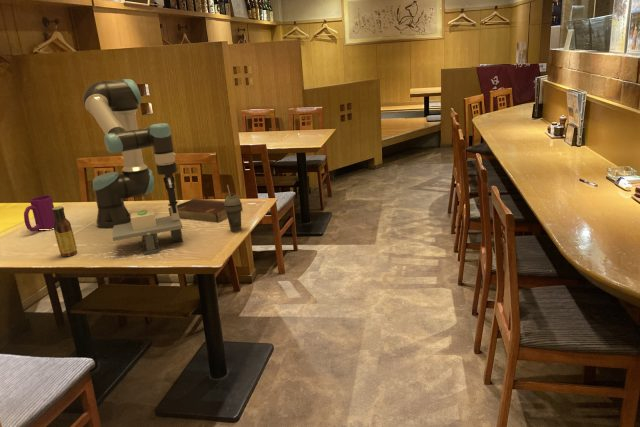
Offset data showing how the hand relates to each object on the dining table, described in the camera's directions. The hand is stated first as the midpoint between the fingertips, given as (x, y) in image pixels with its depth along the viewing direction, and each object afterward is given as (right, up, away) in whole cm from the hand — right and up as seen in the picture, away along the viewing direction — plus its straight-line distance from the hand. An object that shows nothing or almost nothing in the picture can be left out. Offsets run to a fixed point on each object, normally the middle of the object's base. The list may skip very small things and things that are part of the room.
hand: (175, 219), depth 209 cm
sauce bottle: (-41, -14, -4) cm, 44 cm away
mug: (-71, -6, +30) cm, 77 cm away
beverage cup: (+23, -5, +9) cm, 25 cm away
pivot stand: (-6, -9, +1) cm, 11 cm away
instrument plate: (-10, -4, -3) cm, 11 cm away
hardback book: (+5, +2, +36) cm, 37 cm away
